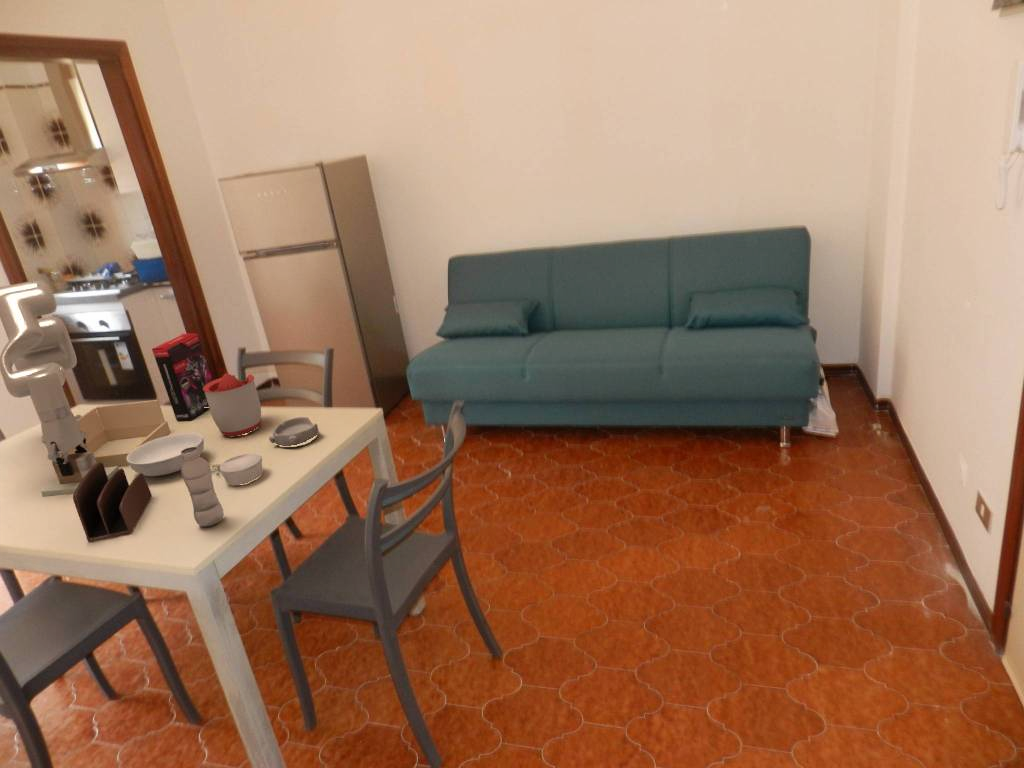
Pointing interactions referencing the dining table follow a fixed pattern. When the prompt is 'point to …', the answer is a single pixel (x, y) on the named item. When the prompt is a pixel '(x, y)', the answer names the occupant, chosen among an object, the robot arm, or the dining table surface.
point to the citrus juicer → (234, 404)
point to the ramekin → (242, 468)
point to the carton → (122, 427)
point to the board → (71, 484)
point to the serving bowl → (163, 454)
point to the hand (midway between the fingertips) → (76, 468)
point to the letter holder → (110, 503)
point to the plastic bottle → (201, 488)
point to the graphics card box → (184, 375)
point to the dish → (294, 431)
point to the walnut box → (76, 467)
